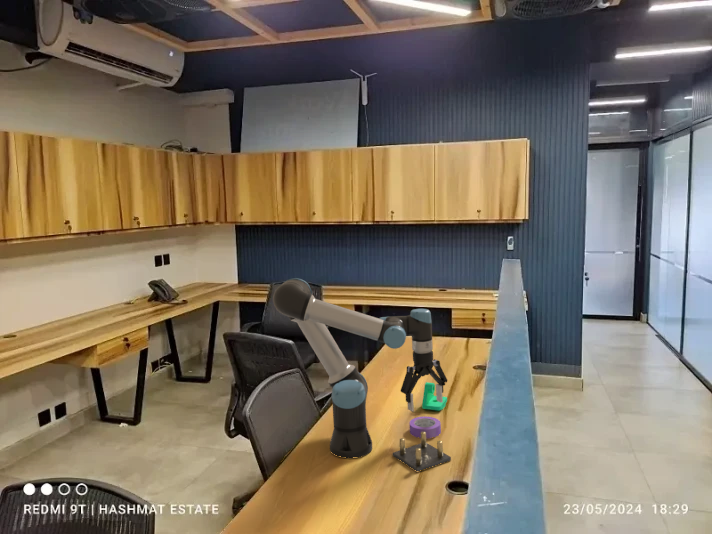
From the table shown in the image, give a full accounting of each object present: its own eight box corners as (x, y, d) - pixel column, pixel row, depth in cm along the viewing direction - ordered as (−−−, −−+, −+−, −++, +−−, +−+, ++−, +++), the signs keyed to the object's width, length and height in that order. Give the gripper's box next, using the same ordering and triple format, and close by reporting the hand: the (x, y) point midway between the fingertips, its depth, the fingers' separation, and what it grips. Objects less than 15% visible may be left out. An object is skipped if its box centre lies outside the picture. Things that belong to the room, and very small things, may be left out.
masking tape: (422, 441, 193) (422, 431, 193) (403, 431, 203) (403, 421, 202) (447, 433, 199) (447, 423, 199) (427, 423, 209) (427, 413, 209)
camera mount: (440, 413, 218) (439, 389, 217) (422, 411, 221) (421, 387, 220) (447, 402, 229) (447, 379, 228) (430, 400, 232) (430, 378, 231)
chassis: (417, 472, 171) (416, 454, 170) (392, 455, 183) (392, 438, 182) (451, 460, 178) (450, 442, 177) (425, 445, 190) (424, 428, 189)
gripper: (401, 359, 188) (404, 417, 190) (455, 346, 200) (457, 400, 203) (389, 355, 194) (392, 410, 197) (442, 342, 207) (444, 395, 209)
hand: (425, 405), depth 200 cm, fingers open, 13 cm apart
